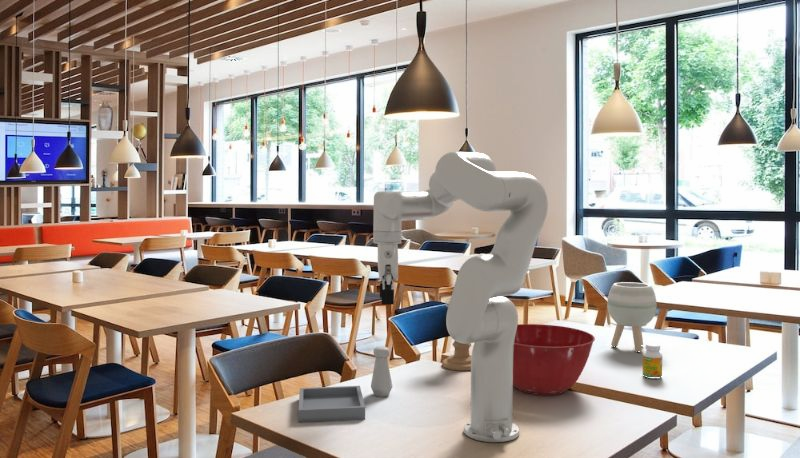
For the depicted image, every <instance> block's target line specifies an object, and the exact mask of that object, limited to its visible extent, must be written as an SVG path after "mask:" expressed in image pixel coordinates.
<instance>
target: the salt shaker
mask: <svg viewBox="0 0 800 458" xmlns="http://www.w3.org/2000/svg"><path fill="white" fill-rule="evenodd" d="M390 355H391V354H390V349H389V348H388V347H387V346H382V345H381V346H377V347H375V348H374V349H373V357H375V360H374V361H375V362H374V366H373V371H372V375H371V376H372V379H371V383H370V387H371V391H372V393H373V395H374V396H375V397H381V398H384V397H388V396H390V393H391V391H392V388H393V381H392V377H391V371H390V366H389V361H388V357H389V356H390Z"/></svg>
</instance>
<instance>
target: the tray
mask: <svg viewBox="0 0 800 458" xmlns="http://www.w3.org/2000/svg"><path fill="white" fill-rule="evenodd" d="M298 396H299V398H298V423H313V422H314V423H316V422H335V421H336V422H338V421H339V422H340V421H357V420H358V421H359V420H361V421H362V420H366V406H365V401H364V397H363V393H362V389H361V385H346V386H345V385H344V386H322V387H321V386H318V387H299V395H298Z"/></svg>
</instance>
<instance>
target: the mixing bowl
mask: <svg viewBox="0 0 800 458" xmlns="http://www.w3.org/2000/svg"><path fill="white" fill-rule="evenodd" d="M595 337H596V336H594V335H593V334H591V333H589V332H588V331H585V330H581V329H577V328H573V327H569V326H562V325H553V324H552V325H551V324H537V323H536V324H535V323H518V325H517V330H516V335H515V341H514V352H513V387H515V388H517V389H518V390H519V391H522V392H524V393H528V394H532V395H541V396H542V395H543V396H553V395H560V394H562V393H564V392H566V391H567V390H569V389H571V388H572V387H573V386H574V385H575V384H576V383H577V381H578V380H579V378H580V376H581V375H582V373H583V371H584V369H585V368H586V365H587V363H588V360H589V357H590V353H591V351H592V347H593V342H595V340H596V338H595Z"/></svg>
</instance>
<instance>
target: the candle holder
mask: <svg viewBox="0 0 800 458" xmlns="http://www.w3.org/2000/svg"><path fill="white" fill-rule="evenodd" d="M449 303H450V300H447V301H445V306H446V308H448V307H449ZM452 346H453V348H454V352H453V354H451V355H449V356H448V357H446V358H445V359H443V360H442V363H441V364H442V367H444V368H445V369H447V370H450V371H451V370H452V371H459V372H463V371H464V372H465V371H467V372H468V371H471V355H472V354H471V355H470V348H471V347H472V343H469V344H463V343H459V342H456V341H455V340H454V341H453V342H452Z"/></svg>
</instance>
